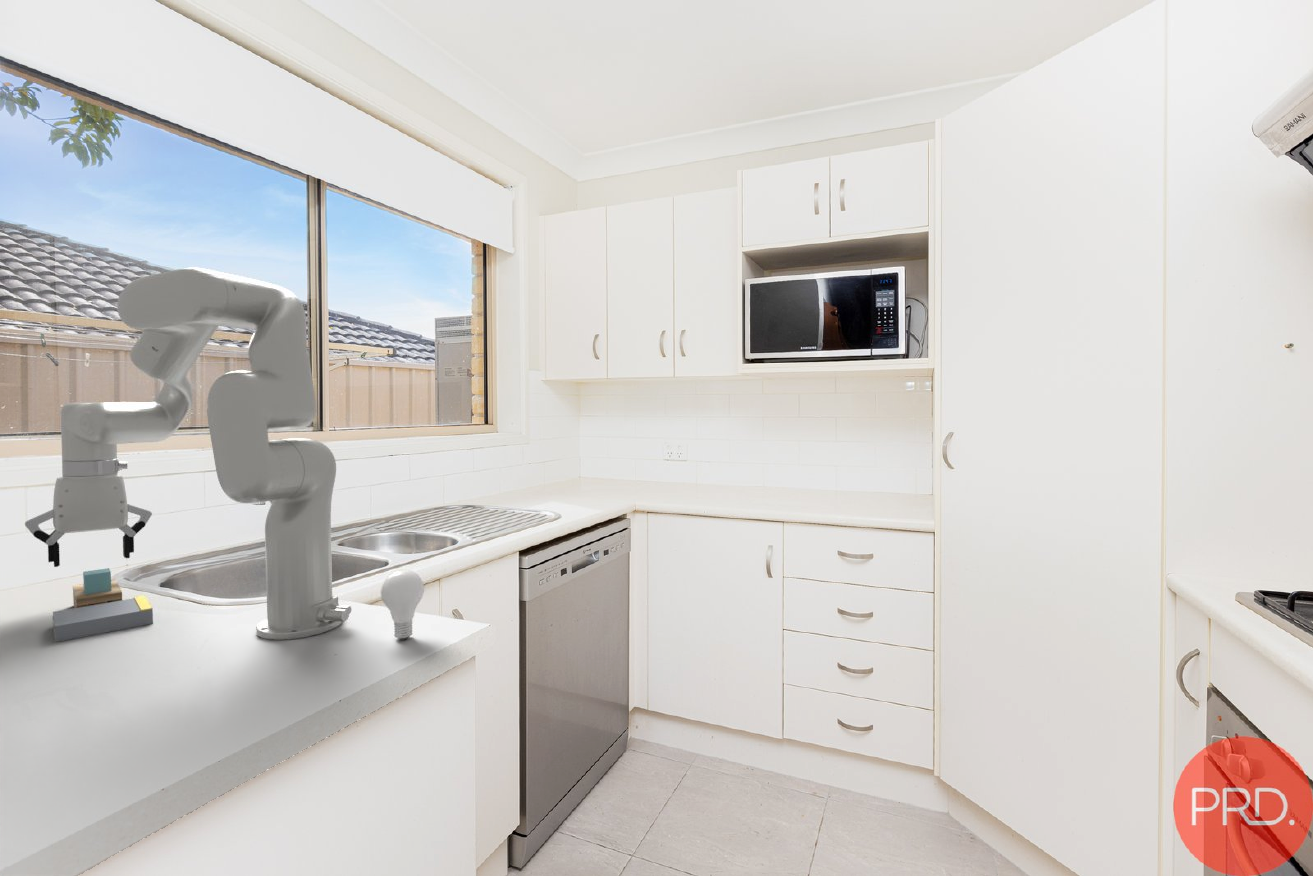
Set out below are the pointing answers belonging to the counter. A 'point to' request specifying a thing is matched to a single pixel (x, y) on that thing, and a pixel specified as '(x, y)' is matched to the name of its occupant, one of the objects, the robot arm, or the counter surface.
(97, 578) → the block
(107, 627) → the dock
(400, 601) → the lightbulb
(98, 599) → the pallet
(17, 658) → the counter surface
